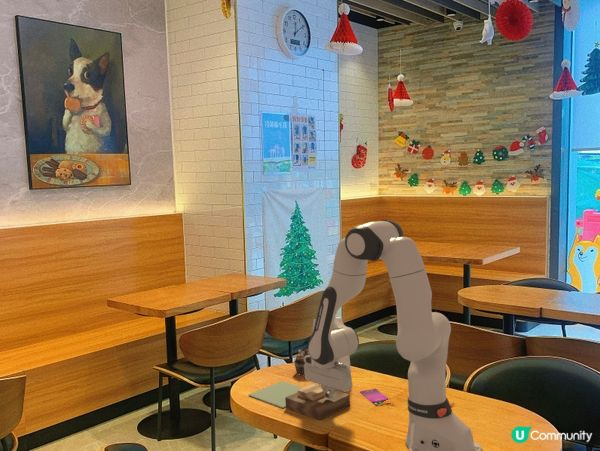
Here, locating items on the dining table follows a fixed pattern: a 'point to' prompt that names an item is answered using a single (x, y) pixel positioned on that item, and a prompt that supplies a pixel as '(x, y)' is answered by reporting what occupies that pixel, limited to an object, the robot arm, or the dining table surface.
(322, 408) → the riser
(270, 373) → the dining table surface
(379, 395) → the smartphone
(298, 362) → the cupcake
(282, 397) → the mat
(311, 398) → the coaster
